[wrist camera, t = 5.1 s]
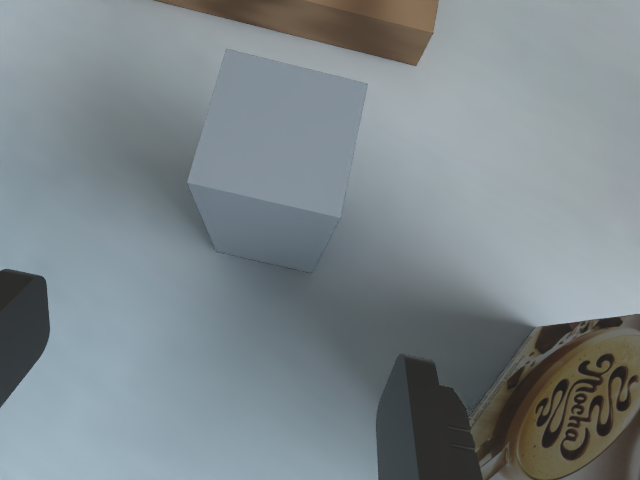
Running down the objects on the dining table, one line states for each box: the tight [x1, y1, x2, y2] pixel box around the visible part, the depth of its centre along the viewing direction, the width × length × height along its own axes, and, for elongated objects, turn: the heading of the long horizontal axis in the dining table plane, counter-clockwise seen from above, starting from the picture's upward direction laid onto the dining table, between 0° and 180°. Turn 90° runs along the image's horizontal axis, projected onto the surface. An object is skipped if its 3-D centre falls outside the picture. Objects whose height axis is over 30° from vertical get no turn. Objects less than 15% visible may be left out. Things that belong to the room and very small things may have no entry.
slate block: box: [187, 49, 368, 273], centre depth 21 cm, size 5×5×10 cm
